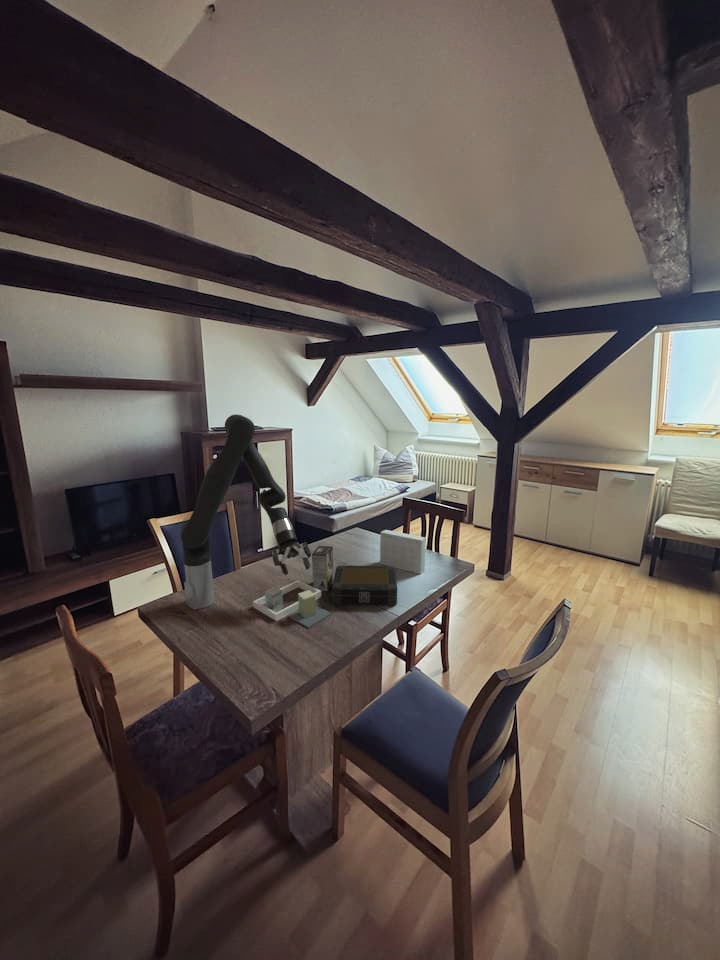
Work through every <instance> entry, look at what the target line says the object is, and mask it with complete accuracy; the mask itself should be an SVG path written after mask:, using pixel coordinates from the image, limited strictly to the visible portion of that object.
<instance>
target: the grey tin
mask: <svg viewBox="0 0 720 960" xmlns="http://www.w3.org/2000/svg"><path fill="white" fill-rule="evenodd" d="M264 596H265V602H266V603H265V606H266V607H268V608H269V609H271V610H273V611H275V612H276V613H277V612H279V611H281V610H282V609H284V599H283V595H282V590H280V588H278V587H277V586H273V587H271V588H268V589H266V590H265V591H264Z"/></svg>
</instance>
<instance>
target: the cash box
mask: <svg viewBox="0 0 720 960" xmlns="http://www.w3.org/2000/svg"><path fill="white" fill-rule="evenodd" d="M333 579H334V580H333V583H332V584H331V603H332V605H337V606H373V607H375V606H379V607H381V606H382V607H384V606H386V607H394V606H397V604H398V581H397V573H396V568H394V567H392V566H386V565H381V566H380V565H337V566H336V567H335V571H334V574H333Z"/></svg>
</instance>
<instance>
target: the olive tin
mask: <svg viewBox="0 0 720 960" xmlns="http://www.w3.org/2000/svg"><path fill="white" fill-rule="evenodd" d="M297 595H298V596H297V597H298V601H299V609H298V610H299V613H300V614H301V615H302V616H303V617H304V618H307V617H309V616H312V615H315V614H316V606H317V605H316V600H315V594H314V593H312V592H311V591H310V590H307V591H305V590H303V591H302V592H299V593H297ZM315 605H316V606H315Z"/></svg>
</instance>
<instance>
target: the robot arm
mask: <svg viewBox="0 0 720 960" xmlns="http://www.w3.org/2000/svg"><path fill="white" fill-rule="evenodd" d="M224 431H225V432H226V435H227V437H226V441H225V443H224V446H223V448H222V450H221V451H220V453H219V455H217V457H216V458H215V459H214V460H213V461H212V463H211V464H210V466H209V467H208V469H207V471H206V473H205V475H204V478H203V480H202V483H201V485H200V488H199V492H198V495H197V499H196V502H195V503H196V504H195V507H194V509H193V512H192V513H191V516H190V517H189V519H187V521H185V522H184V523H183V524H182V526H181V530H180V539H181V542H182V549H183V550H182V551H183V555H182V556H183V563H184V573H185V581H184V582H183V584H184V593H185V601H186V602H185V603H186V606H188V607H189V608H191V610H193V611H195V610H200V609H204V608H208V607H210V606H211V605H213V604H214V603H215V601H216V600H215V591H214V578H213V571H212V560H211V559H212V558H211V548H210V547H211V545H210V536H209V535H210V530H211V527H212V524H213V522H214V519H215V516H216V513H217V512H218V510H219V509H220V507H221V504H222V502H223V500H224V498H225V497H226V495H227V493H228V491H229V489H230V486H231V485H232V481H233V478H235V477H234V476H235V474H236V472H237V470H238V467H239V465H240V462H241V460H242V459H243V461H244V462H245V465H246V466H247V469H248V471H249V473H250V476H251V478H252V480H253V481H254V484H255V486H256V487H257V488H258V489H267V490H264V491H262V492H260V493H259V495H258V503H259V505H261V507H262V508H263V510H265V512H266V514H267V516H268V518H269V521H270V524H271V527H272V532H273V535H274V538H275V541H276V543H277V547H278V548H277V549H276V548H273V549H272V551H271V556H272V557H271V558H272V562H273V564H274V566H275V567H277V566H279V567H280V569H281V572H282V574H283V575H284V576H287V575H288V574H289V570H288V568H287V564H286V563H285V562H286V560H287V559H291V558H296V557H297V558H299V559H301V560H302V563H303V565H304V568H305V570H306V571H307V570H310V567H311V564H310V561H309V559H310V558H311V557H312V552H311V550H310V548H309V546H308V542H306V541H303V543H299V542H298V539H297V536H296V533H295V532H296V531H295V529H294V528H293V524H292V523H291V521H290V518H289V515H288V513H287V510H286V508H285V507H282V506H280V507H275V506H278V505H281V504H282V503H284V502H286V501H285V500H286V493H285V492H284V489H283V488H282V487H281V486H280V485H279V484H278V482H277V481H276V480H275V479H274V477H273V475H272V473H271V471H270V468H269V467H268V465H267V463H266V461H265V460H264V458H263V456H262V454H261V453H260V452H259V450H258V449H257V446H256V445H255V442H254V441H253V438H254V436H255V432H256V427H255V424H254V421H253V420H251V419H250V418H248V417H246V416H244V415H241V414H231V415H230V416H227V418H226V419H225V422H224ZM301 549H302V550H301ZM279 554H281V555H282V558H281V559H280V560H279Z"/></svg>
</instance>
